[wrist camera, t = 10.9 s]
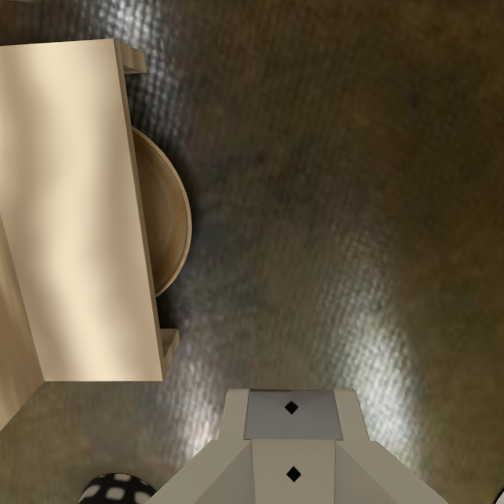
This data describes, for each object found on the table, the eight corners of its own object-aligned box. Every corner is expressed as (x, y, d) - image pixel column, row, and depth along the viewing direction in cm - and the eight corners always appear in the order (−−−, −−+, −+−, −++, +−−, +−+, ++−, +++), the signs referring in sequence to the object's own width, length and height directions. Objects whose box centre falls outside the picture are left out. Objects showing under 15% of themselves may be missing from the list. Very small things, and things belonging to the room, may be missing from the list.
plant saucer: (-30, 182, 30) (-58, 188, 28) (115, 65, 27) (99, 60, 24) (93, 327, 34) (79, 344, 31) (235, 240, 30) (232, 251, 28)
